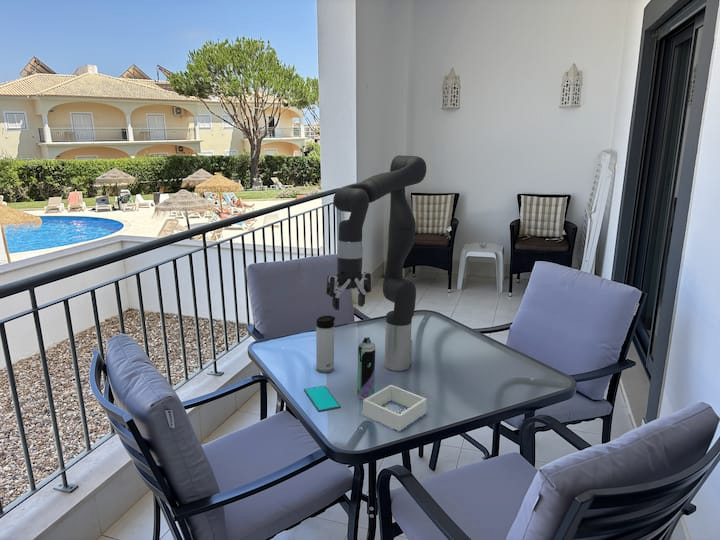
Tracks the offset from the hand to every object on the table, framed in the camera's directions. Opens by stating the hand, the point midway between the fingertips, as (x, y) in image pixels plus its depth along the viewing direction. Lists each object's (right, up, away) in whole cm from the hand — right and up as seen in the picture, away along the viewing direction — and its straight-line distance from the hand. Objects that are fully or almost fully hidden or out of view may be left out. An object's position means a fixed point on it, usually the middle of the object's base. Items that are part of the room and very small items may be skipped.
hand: (348, 307), depth 154 cm
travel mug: (-9, -24, +27) cm, 38 cm away
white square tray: (+14, -32, -2) cm, 35 cm away
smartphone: (-9, -30, +7) cm, 32 cm away
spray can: (+5, -29, +9) cm, 31 cm away
